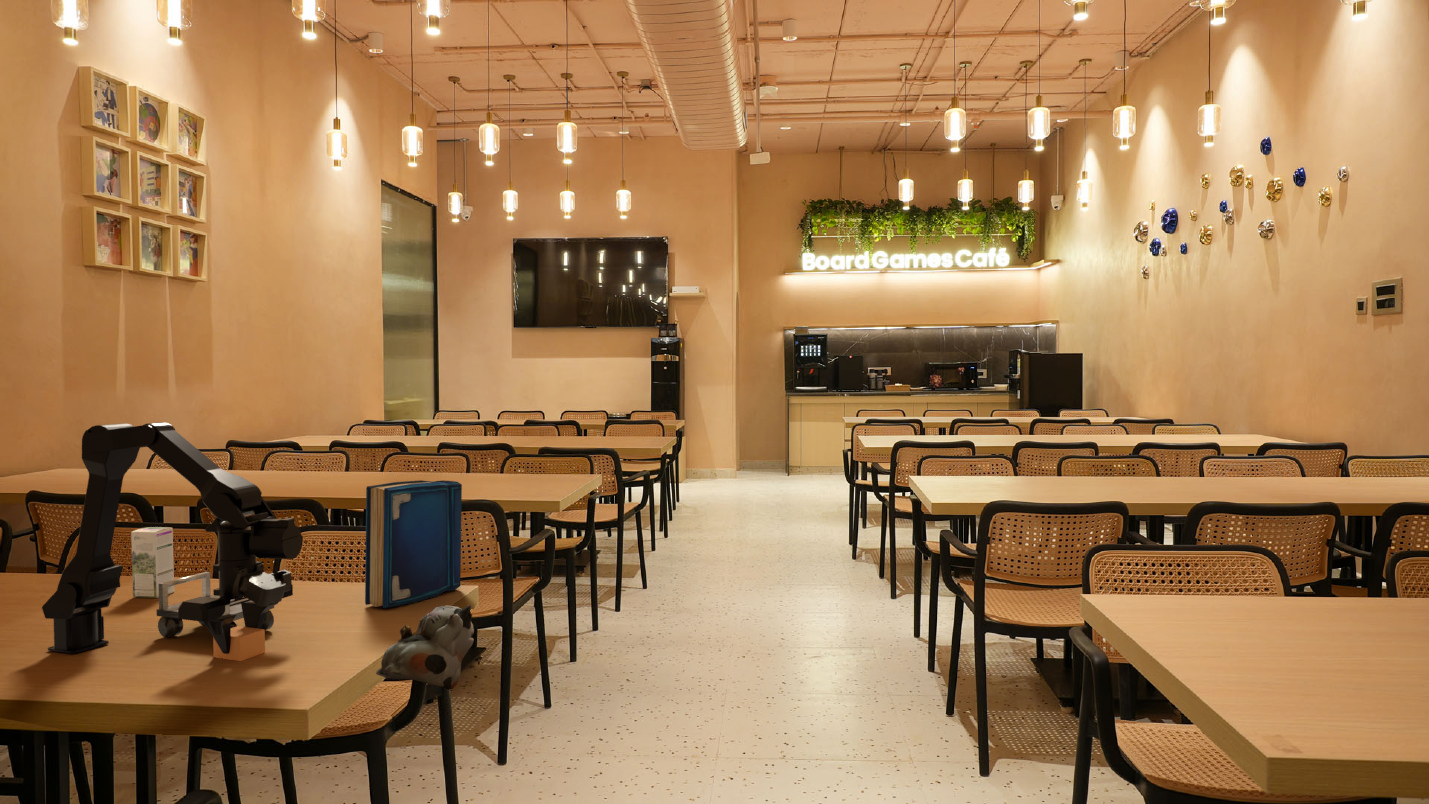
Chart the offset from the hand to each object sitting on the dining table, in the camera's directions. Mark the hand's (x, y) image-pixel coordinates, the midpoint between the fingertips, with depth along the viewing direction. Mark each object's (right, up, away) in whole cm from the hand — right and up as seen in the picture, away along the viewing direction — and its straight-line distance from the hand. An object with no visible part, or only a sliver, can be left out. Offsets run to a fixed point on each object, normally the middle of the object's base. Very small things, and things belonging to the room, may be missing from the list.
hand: (239, 648), depth 151 cm
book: (+17, 0, +38) cm, 42 cm away
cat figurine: (+36, -2, -13) cm, 39 cm away
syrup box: (-41, 0, +41) cm, 58 cm away
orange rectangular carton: (0, -1, 0) cm, 1 cm away
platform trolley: (-11, -1, +12) cm, 16 cm away
